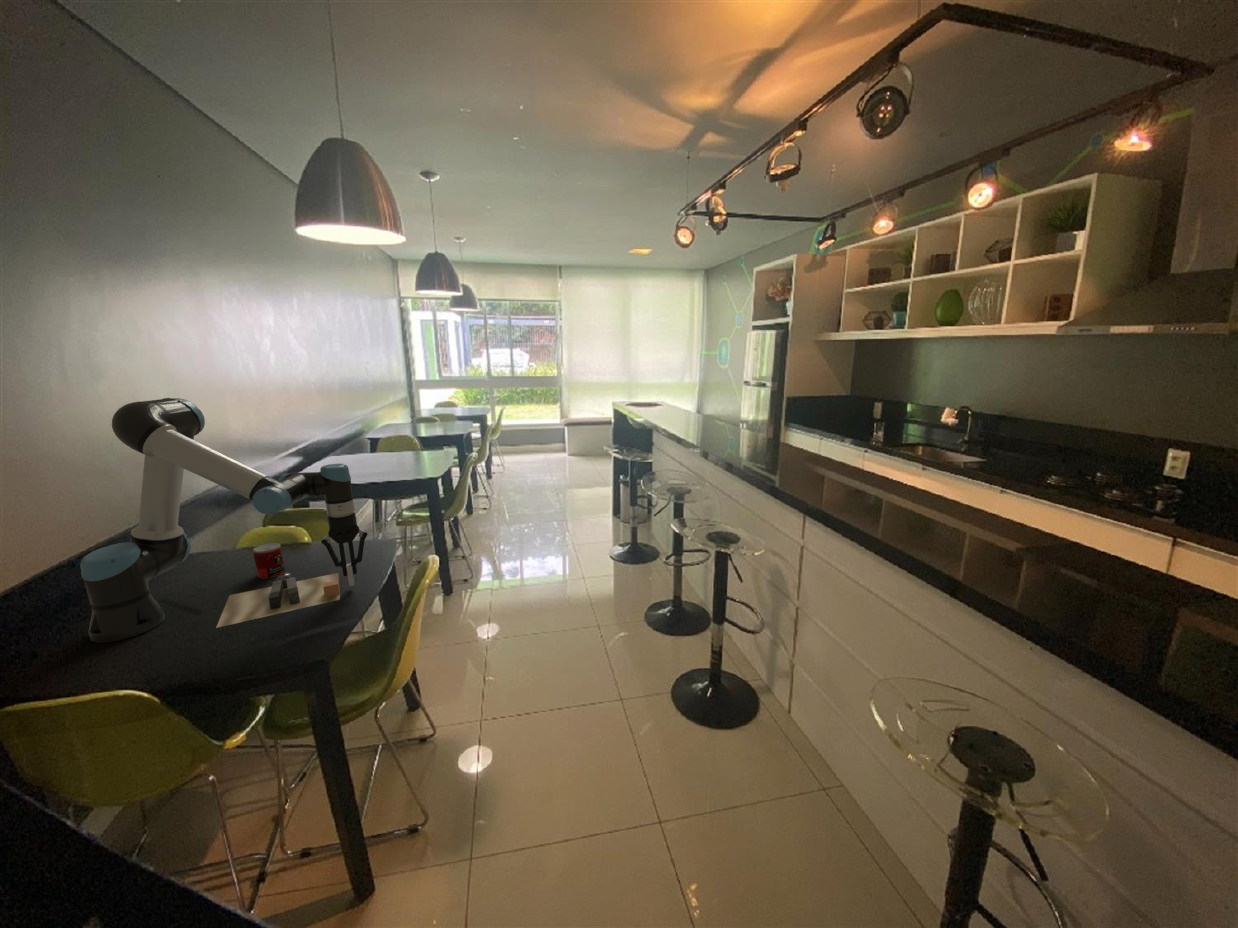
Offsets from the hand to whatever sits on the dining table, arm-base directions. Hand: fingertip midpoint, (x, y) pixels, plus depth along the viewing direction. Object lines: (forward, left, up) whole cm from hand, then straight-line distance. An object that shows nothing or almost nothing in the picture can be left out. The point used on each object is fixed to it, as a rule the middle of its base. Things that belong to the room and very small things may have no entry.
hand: (351, 583), depth 155 cm
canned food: (-24, +28, -3) cm, 37 cm away
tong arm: (-16, +5, -2) cm, 17 cm away
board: (-19, +5, -3) cm, 20 cm away
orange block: (-6, 0, -2) cm, 6 cm away
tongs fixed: (-19, +7, -2) cm, 21 cm away
